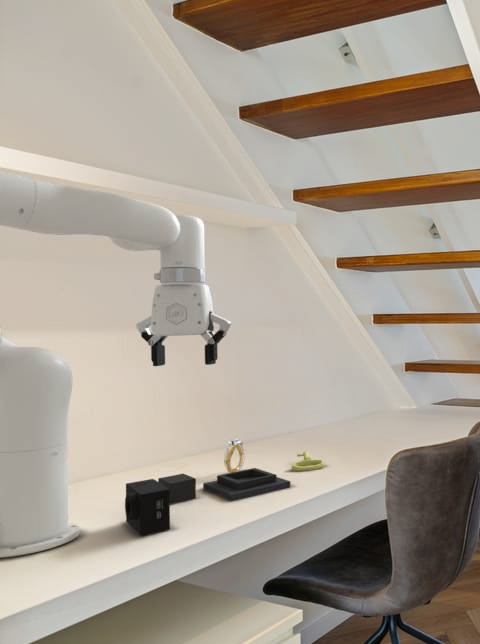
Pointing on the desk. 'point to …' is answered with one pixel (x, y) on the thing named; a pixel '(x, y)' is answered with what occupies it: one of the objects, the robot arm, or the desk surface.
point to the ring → (229, 454)
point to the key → (307, 463)
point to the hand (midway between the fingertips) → (184, 364)
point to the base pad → (245, 484)
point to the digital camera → (147, 506)
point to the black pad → (180, 487)
